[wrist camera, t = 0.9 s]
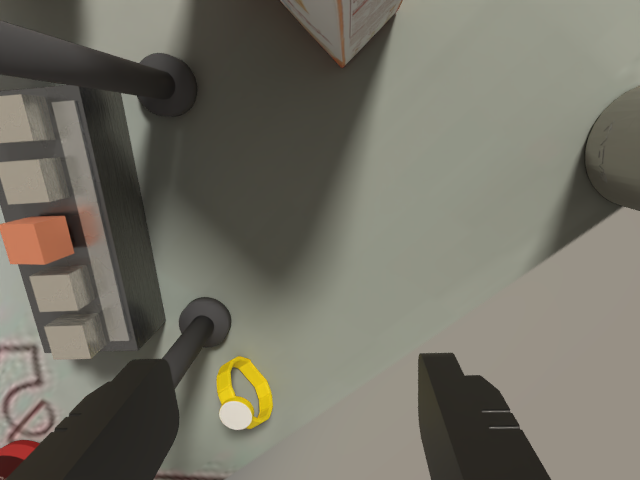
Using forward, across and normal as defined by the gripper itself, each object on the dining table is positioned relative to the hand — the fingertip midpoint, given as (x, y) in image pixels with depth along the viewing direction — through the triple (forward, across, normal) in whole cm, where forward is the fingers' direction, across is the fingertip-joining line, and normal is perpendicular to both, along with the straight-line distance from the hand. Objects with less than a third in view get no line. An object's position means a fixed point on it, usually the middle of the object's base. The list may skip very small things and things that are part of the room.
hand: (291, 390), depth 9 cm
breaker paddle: (+18, +20, 0) cm, 27 cm away
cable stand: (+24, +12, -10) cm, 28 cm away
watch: (+24, +8, +16) cm, 30 cm away
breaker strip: (+24, +20, 0) cm, 31 cm away
